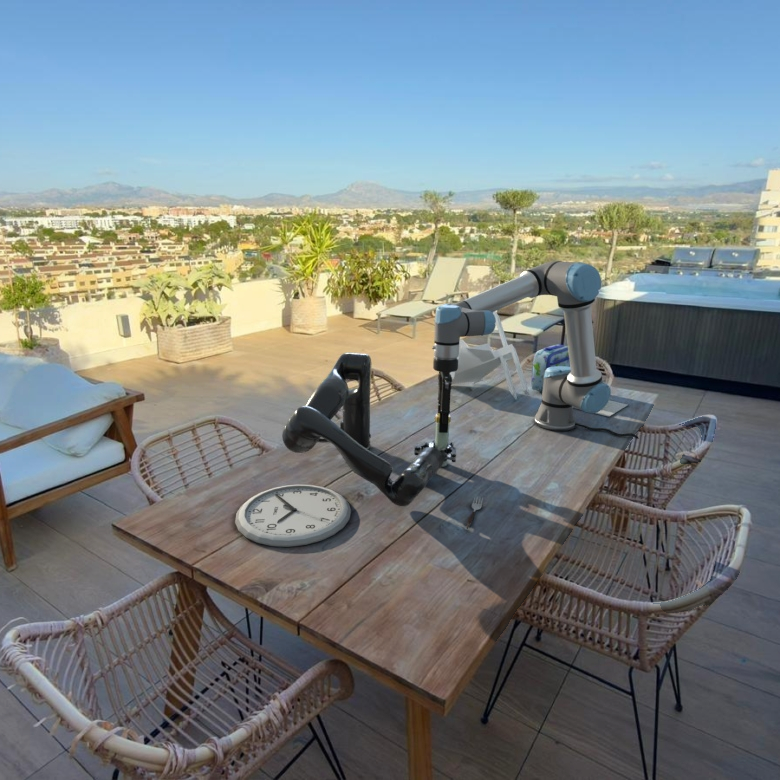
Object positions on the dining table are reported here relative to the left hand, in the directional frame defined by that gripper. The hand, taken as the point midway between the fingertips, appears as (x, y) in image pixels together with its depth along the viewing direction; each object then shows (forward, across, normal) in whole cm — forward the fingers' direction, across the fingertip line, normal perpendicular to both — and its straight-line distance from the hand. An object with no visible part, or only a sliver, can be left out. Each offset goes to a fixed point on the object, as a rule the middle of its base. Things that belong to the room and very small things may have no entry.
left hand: (444, 443), depth 169 cm
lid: (-3, 0, +10) cm, 11 cm away
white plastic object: (+79, -7, -6) cm, 79 cm away
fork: (-30, +18, -6) cm, 35 cm away
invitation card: (+82, +46, -6) cm, 94 cm away
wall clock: (-49, -26, -6) cm, 55 cm away
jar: (-3, 0, -6) cm, 7 cm away
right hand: (-3, 0, +6) cm, 7 cm away
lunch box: (+99, +23, -6) cm, 102 cm away
